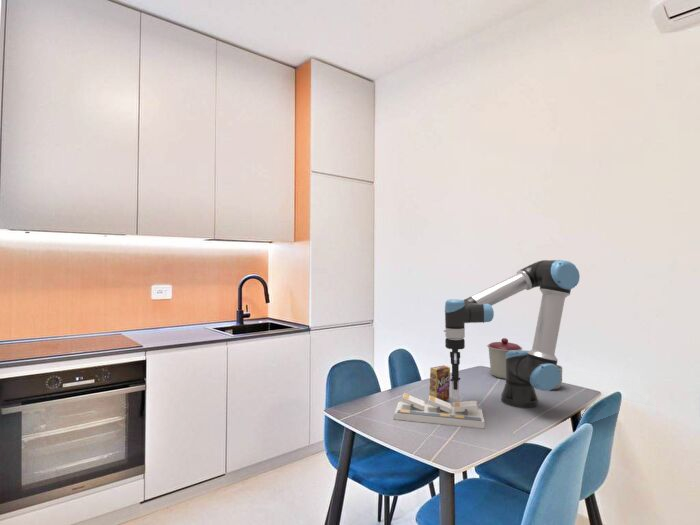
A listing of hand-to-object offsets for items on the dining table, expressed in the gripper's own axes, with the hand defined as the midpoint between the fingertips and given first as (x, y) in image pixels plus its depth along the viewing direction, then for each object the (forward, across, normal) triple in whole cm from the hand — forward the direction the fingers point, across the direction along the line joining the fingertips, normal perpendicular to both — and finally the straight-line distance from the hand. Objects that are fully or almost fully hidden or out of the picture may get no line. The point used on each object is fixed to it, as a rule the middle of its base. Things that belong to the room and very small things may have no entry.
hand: (455, 396), depth 165 cm
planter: (+10, -54, +46) cm, 72 cm away
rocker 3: (+4, 0, +4) cm, 6 cm away
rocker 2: (+4, 0, -7) cm, 8 cm away
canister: (+10, -69, +27) cm, 75 cm away
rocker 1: (+4, 0, -17) cm, 17 cm away
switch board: (+8, +1, -7) cm, 11 cm away
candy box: (+9, -19, -7) cm, 22 cm away
